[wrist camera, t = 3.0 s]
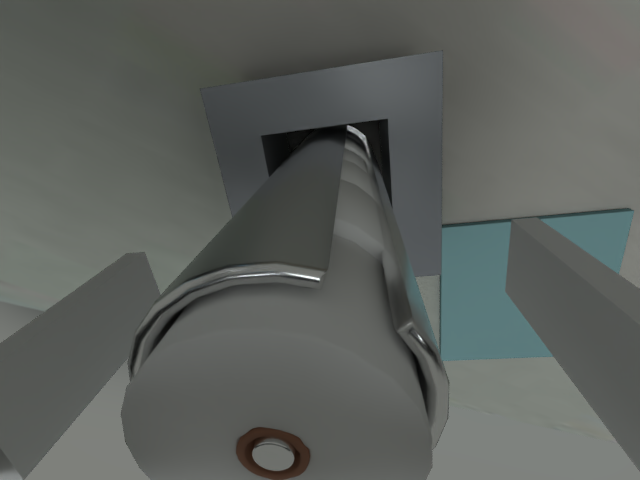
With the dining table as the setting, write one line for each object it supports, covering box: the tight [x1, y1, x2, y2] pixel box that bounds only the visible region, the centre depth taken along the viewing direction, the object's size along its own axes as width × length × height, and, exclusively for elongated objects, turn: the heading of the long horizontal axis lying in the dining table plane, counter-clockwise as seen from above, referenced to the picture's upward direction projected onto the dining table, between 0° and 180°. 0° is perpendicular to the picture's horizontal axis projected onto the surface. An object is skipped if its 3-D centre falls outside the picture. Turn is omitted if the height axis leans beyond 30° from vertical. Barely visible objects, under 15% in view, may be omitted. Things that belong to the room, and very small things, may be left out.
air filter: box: [121, 124, 449, 480], centre depth 17 cm, size 6×6×25 cm
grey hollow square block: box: [200, 50, 443, 277], centre depth 25 cm, size 14×14×8 cm
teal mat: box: [440, 208, 634, 361], centre depth 32 cm, size 15×15×1 cm
